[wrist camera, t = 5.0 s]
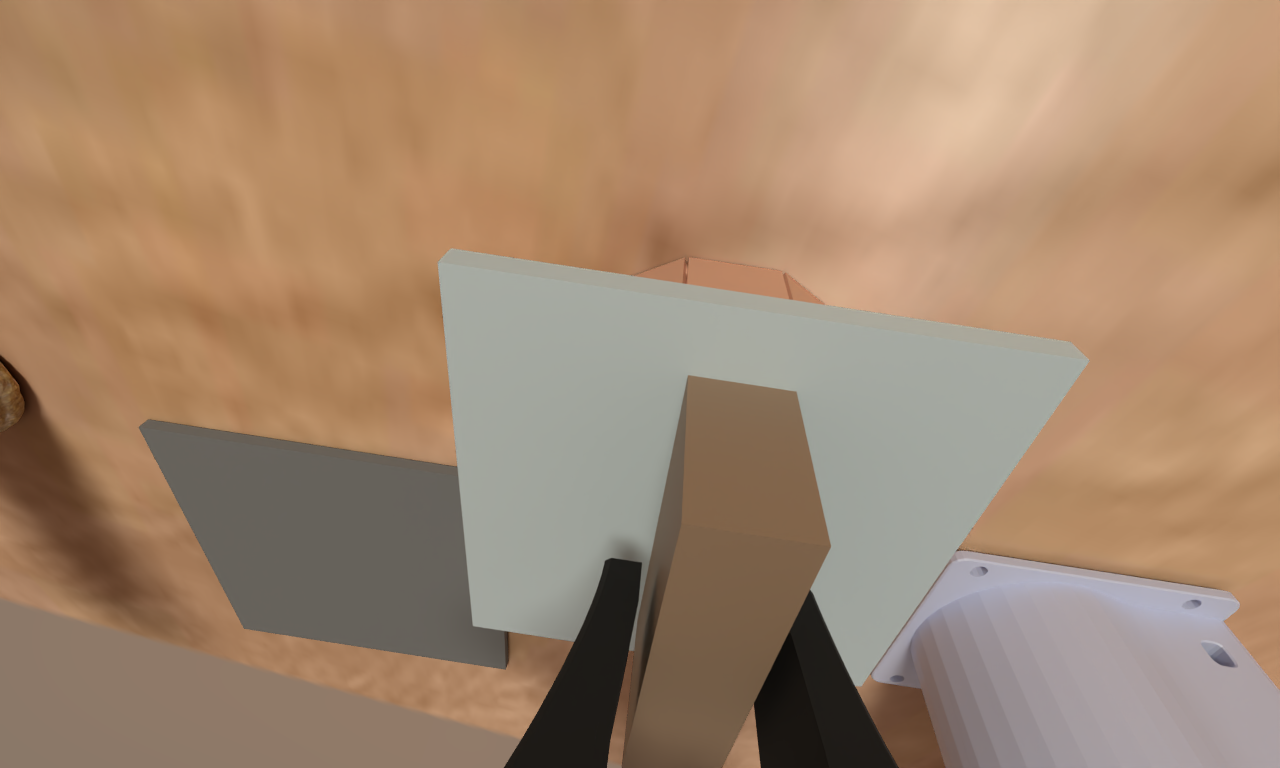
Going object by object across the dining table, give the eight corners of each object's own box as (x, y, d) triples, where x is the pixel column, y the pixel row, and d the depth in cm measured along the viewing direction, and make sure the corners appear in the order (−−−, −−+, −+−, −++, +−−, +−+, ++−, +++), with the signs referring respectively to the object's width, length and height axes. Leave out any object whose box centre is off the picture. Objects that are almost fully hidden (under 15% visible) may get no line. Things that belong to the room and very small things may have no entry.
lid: (1070, 341, 10) (1256, 523, 7) (856, 665, 16) (894, 840, 13) (450, 248, 10) (322, 380, 7) (479, 606, 16) (421, 765, 13)
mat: (501, 474, 19) (498, 482, 19) (508, 660, 26) (505, 669, 26) (148, 419, 19) (138, 427, 19) (249, 620, 26) (243, 628, 26)
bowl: (917, 291, 14) (983, 386, 11) (809, 531, 19) (831, 644, 16) (553, 236, 14) (507, 313, 11) (546, 491, 19) (513, 594, 16)
